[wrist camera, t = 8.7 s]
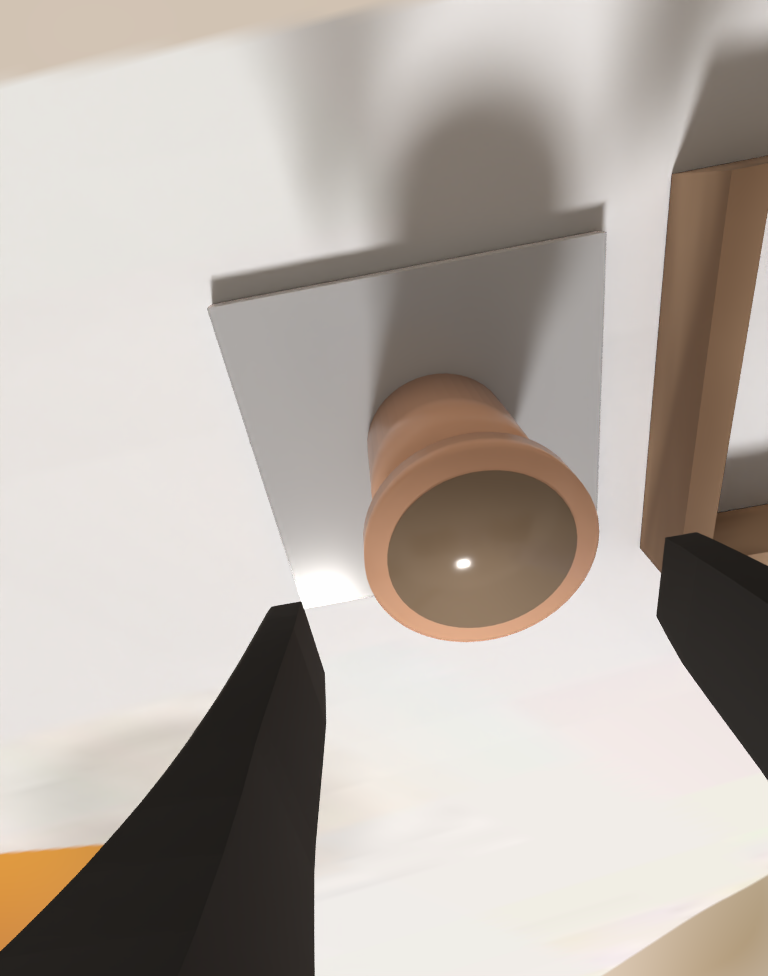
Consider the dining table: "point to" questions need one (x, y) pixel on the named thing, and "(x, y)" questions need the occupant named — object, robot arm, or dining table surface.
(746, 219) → the cold frame
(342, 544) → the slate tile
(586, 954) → the dining table surface
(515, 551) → the terracotta pot
